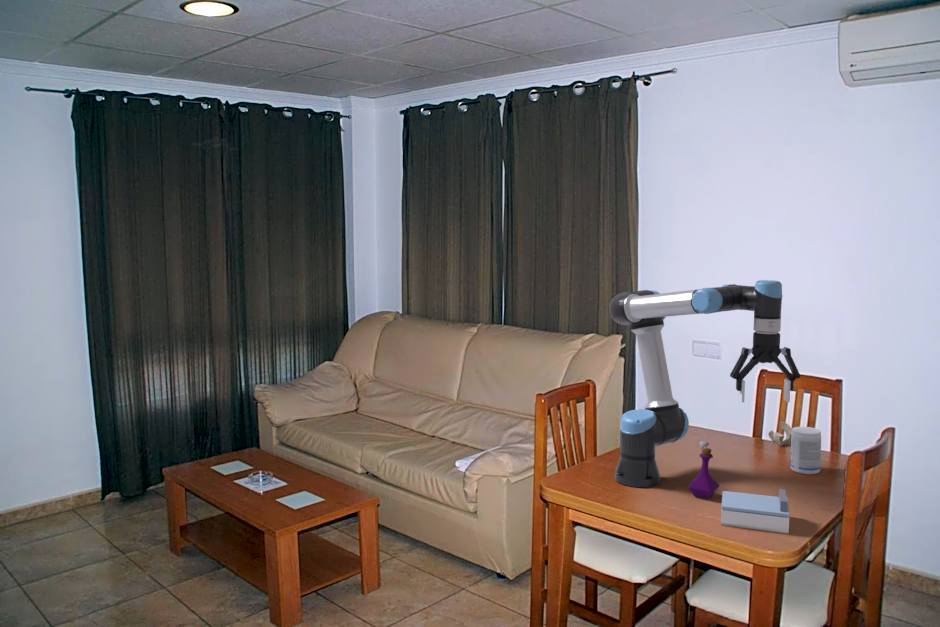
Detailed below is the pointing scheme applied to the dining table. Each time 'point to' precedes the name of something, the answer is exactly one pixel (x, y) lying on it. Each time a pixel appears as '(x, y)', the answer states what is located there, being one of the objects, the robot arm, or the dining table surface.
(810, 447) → the supplement tub
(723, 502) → the lid
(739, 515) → the storage box
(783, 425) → the beige irregular lump
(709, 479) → the perfume bottle
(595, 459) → the dining table surface
